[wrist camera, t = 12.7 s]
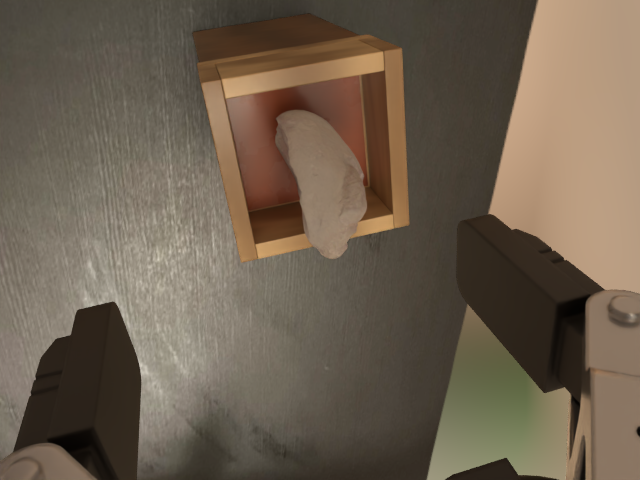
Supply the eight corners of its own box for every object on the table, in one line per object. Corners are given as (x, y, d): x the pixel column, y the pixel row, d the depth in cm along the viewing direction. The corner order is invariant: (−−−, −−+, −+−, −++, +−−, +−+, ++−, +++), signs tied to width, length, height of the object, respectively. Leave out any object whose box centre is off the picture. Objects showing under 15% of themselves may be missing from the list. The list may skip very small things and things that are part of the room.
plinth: (217, 147, 44) (234, 219, 32) (192, 31, 40) (199, 65, 28) (323, 126, 45) (376, 188, 33) (309, 13, 41) (366, 37, 29)
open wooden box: (232, 221, 32) (241, 263, 28) (196, 62, 28) (200, 82, 23) (379, 190, 34) (409, 225, 29) (368, 34, 29) (402, 47, 25)
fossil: (253, 96, 28) (289, 159, 19) (317, 77, 28) (381, 131, 20) (282, 194, 31) (324, 287, 22) (339, 176, 31) (403, 261, 23)
